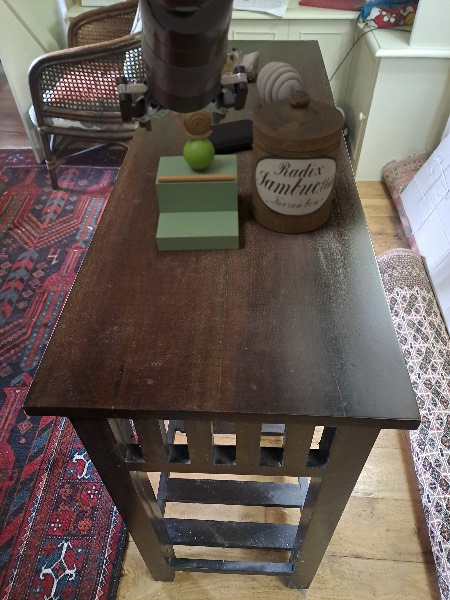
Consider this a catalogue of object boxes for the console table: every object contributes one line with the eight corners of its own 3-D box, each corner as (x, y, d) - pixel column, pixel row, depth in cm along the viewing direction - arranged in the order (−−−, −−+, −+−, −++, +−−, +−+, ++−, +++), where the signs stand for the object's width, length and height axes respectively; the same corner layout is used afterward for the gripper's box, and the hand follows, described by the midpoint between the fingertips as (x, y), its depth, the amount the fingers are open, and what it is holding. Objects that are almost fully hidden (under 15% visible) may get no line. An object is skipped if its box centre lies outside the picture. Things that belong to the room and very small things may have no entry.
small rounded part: (177, 161, 82) (169, 94, 74) (212, 157, 83) (209, 90, 74) (181, 177, 79) (173, 109, 70) (217, 173, 79) (214, 104, 71)
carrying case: (207, 161, 100) (269, 148, 103) (206, 148, 97) (270, 135, 100) (193, 139, 106) (251, 127, 110) (192, 126, 104) (252, 115, 107)
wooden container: (252, 235, 82) (254, 114, 66) (250, 188, 92) (251, 74, 76) (335, 233, 81) (358, 112, 65) (324, 187, 91) (341, 72, 75)
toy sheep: (276, 94, 122) (279, 49, 114) (316, 118, 112) (322, 70, 104) (243, 104, 119) (243, 58, 111) (281, 129, 108) (284, 81, 100)
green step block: (158, 251, 80) (149, 202, 72) (166, 198, 90) (159, 151, 83) (238, 249, 79) (238, 200, 72) (237, 196, 90) (236, 149, 83)
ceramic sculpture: (262, 51, 119) (205, 58, 119) (263, 85, 126) (209, 92, 126) (256, 38, 127) (203, 45, 127) (257, 71, 133) (206, 77, 133)
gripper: (255, 6, 42) (232, 84, 58) (98, 18, 41) (120, 95, 57) (266, 87, 43) (241, 143, 59) (111, 103, 41) (129, 155, 57)
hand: (181, 119), depth 58 cm, fingers open, 8 cm apart
